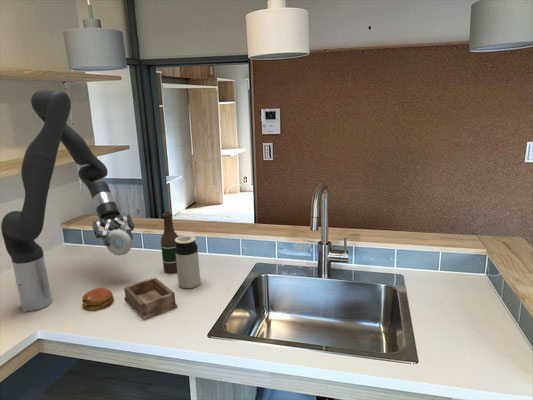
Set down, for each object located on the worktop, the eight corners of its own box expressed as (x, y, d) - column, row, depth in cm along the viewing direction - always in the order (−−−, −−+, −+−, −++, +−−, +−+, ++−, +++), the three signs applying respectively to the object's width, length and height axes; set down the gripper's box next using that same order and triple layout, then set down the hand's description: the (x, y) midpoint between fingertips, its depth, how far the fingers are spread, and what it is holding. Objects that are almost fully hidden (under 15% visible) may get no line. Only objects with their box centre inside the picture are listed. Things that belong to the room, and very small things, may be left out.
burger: (117, 297, 144) (115, 285, 143) (107, 310, 135) (105, 298, 134) (90, 297, 144) (88, 285, 143) (78, 311, 135) (75, 299, 134)
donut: (105, 256, 151) (101, 230, 148) (109, 253, 154) (106, 227, 152) (130, 257, 149) (127, 231, 147) (135, 253, 153) (132, 228, 150)
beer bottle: (185, 265, 168) (180, 209, 161) (179, 274, 160) (173, 215, 154) (166, 265, 169) (161, 210, 162) (160, 273, 161) (153, 215, 155)
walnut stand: (143, 320, 129) (142, 305, 127) (124, 299, 142) (122, 286, 140) (177, 307, 135) (176, 293, 134) (156, 289, 149) (154, 276, 147)
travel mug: (185, 291, 146) (180, 244, 142) (174, 283, 152) (170, 238, 147) (204, 284, 151) (200, 238, 146) (193, 277, 157) (189, 233, 152)
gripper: (87, 204, 148) (101, 242, 142) (126, 197, 157) (141, 233, 151) (85, 215, 154) (98, 252, 148) (123, 208, 162) (137, 243, 156)
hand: (120, 243), depth 149 cm, fingers closed on donut, 7 cm apart
